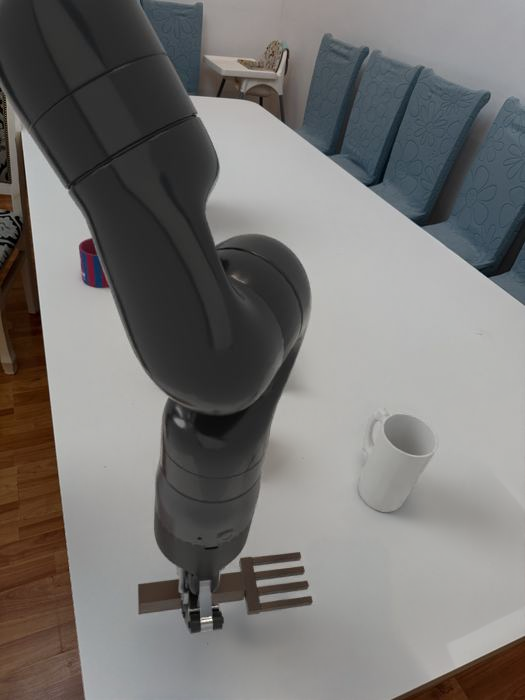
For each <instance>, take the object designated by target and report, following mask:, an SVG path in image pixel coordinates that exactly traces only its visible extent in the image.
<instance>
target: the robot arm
mask: <svg viewBox="0 0 525 700" xmlns="http://www.w3.org/2000/svg"><path fill="white" fill-rule="evenodd" d="M0 89H1V91H2V93H3V94H4V96H5V98H6V99H7V101H8V103H9V104H10V106H11V108H12V110H13V111H14V113H15V114H16V116H17V117H18V119H19V121H20V122H21V124H22V125H23V127H24V128H25V130H26V132H27V133H28V134H29V136H30V137H31V138H32V140H33V142H34V144H35V145H36V147H37V148H38V149H39V151H40V152H41V154H42V156H43V157H44V158H45V160H46V162H47V163H48V165H49V166H50V168H51V169H52V171H53V173H54V174H55V176H56V177H57V179H58V180H59V181H60V184H61V185H62V186H63V188H64V189H65V190H67V193H68V195H69V197H70V198H71V199H72V201H73V203H74V204H75V206H77V208H78V209H79V211H80V213H81V215H82V216H83V218H84V220H85V222H86V224H87V225H86V226H87V227H88V231H89V233H90V236H91V238H92V239H93V242H94V245H95V249H96V252H97V255H98V258H99V261H100V264H101V266H102V269H103V272H104V274H105V277H106V279H107V282H108V285H109V286H108V287H109V291H110V293H111V296H112V299H113V301H114V304H115V307H116V311H117V313H118V316H119V319H120V321H121V324H122V328H123V330H124V332H125V333H124V334H125V336H126V337H127V340H128V342H129V345H130V347H131V350H132V352H133V353H134V355H135V357H136V359H137V361H138V363H139V364H140V367H141V368H142V370H143V371H144V372H145V374H146V375H147V376H148V378H149V379H150V380H151V382H152V383H153V384H154V385H155V386H156V387H157V388H158V389H159V390H160V391H161V392H162V393H163V394H165V395H166V396H167V399H166V400H165V403H164V406H163V409H162V413H161V422H160V439H159V440H160V441H159V459H158V463H157V467H156V471H155V477H154V478H155V479H154V480H155V481H154V506H153V507H154V511H153V512H154V514H153V534H154V539H155V543H156V545H157V548H158V549H159V551H160V552H161V553H162V555H163V556H164V557H165V559H167V560H168V561H169V562H170V563H171V564H173V565H175V567H176V576H177V579H178V590H179V592H180V593H181V600H182V602H181V609H180V611H181V615H182V619H183V620H184V623H185V626H186V628H187V630H188V632H189V634H190V635H192V634H199V633H206V632H212V631H218V630H219V631H220V630H223V627H224V624H225V619H224V615H223V614H222V611H221V610H220V603H219V604H218V603H217V604H213V603H212V602H211V596H212V593H213V592H215V591H216V590H217V588H218V586H219V581H220V575H221V574H222V572H223V571H224V570H225V569H226V567H227V566H228V565H230V564H231V563H232V562H233V561H234V560H236V558H237V557H238V556H240V554H241V553H242V551H243V550H244V548H245V546H246V543H247V541H248V538H249V534H250V530H251V526H252V522H253V518H254V514H255V510H256V506H257V503H258V500H259V496H260V491H261V485H262V470H263V467H264V462H265V458H266V455H267V450H268V446H269V442H270V436H271V430H272V424H273V420H274V417H275V414H276V410H277V408H278V404H279V402H280V400H281V397H282V395H283V393H284V391H285V389H286V387H287V383H288V382H289V378H290V376H291V374H292V371H293V368H294V366H295V364H296V360H297V358H298V356H299V353H300V350H301V348H302V346H303V345H302V344H303V342H304V340H305V336H306V334H307V331H308V330H307V329H308V328H309V327H308V326H309V323H310V318H311V313H312V304H313V303H312V302H313V301H312V299H313V298H312V288H311V283H310V280H309V277H308V273H307V270H306V269H305V266H304V265H303V263H302V262H301V260H300V259H299V258H298V256H297V255H296V253H294V251H293V250H292V249H291V248H289V247H288V246H287V245H286V244H285V243H284V242H281V241H280V240H278V239H277V238H274V237H271V236H270V235H269V236H268V235H265V234H261V233H259V234H258V233H243V234H237V235H234V236H231V237H229V238H226V239H224V240H222V241H220V242H218V243H217V244H216V243H215V240H214V237H213V234H212V231H211V228H210V225H209V220H208V217H207V204H208V202H209V199H210V197H211V195H212V193H213V192H214V190H215V189H216V186H217V184H218V181H219V178H220V173H221V172H220V171H221V165H220V160H219V156H218V153H217V150H216V148H215V146H214V143H213V141H212V139H211V136H210V134H209V132H208V130H207V128H206V126H205V125H204V122H203V120H202V118H201V117H200V116H198V114H199V113H198V110H197V109H196V107H195V105H194V103H193V101H192V99H191V97H190V95H189V93H188V92H187V90H186V88H185V86H184V84H183V82H182V80H181V78H180V77H179V74H178V72H177V70H176V69H175V67H174V65H173V63H172V61H171V59H170V58H169V56H168V53H167V51H166V50H165V48H164V45H163V44H162V42H161V40H160V38H159V36H158V34H157V33H156V31H155V29H154V27H153V26H152V23H151V21H150V20H149V18H148V16H147V14H146V12H145V11H144V9H143V6H142V4H141V2H140V1H139V0H0Z"/></svg>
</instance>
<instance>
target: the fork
mask: <svg viewBox="0 0 525 700" xmlns="http://www.w3.org/2000/svg"><path fill="white" fill-rule="evenodd" d="M301 559H302V554H301V552H300V551H297V552H287V553H279V554H270V555H261V556H244V557H240V558H239V561H238V565H239V571H233V572H225V573H224V572H223V573H221V575H220V581H219V586H218V588H217V590H216V591H215V592H213V593H212V596H211V602H212V603H213V604H217V603H218V604H219V605H220V604H227V603H233V602H239V601H244V602H245V608H246V613H247V616H252V615H259V614H260V613H266V612H272V611H279V610H280V611H281V610H287V609H294V608H301V607H308V606H312V604H313V602H314V601H313V600H314V599H313V597H312V595H308V596H301V597H293V598H287V599H279V600H272V601H271V600H270V601H265V602H261V601H260V597H264V596H270V595H277V594H285V593H292V592H299V591H307V590H308V589H309V587H310V584H309V581H308V580H300V581H294V582H286V583H285V582H284V583H279V584H270V585H262V586H258V584H257V582H258V581H264V580H273V579H283V578H290V577H295V576H304V574H305V572H306V570H305V569H306V568H305V566H304V565H301V566H300V565H299V566H292V567H285V568H276V569H268V570H259V571H255V567H258V566H266V565H267V566H268V565H275V564H276V565H277V564H283V563H284V564H285V563H291V562H298V561H301ZM137 591H138V592H137V606H138V608H137V613H138V615H144V614H153V613H159V612H168V611H174V610H181V602H182V600H181V593H180V592H179V590H178V578H176V579H167V580H160V581H152V582H143V583H138V585H137Z"/></svg>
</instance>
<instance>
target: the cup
mask: <svg viewBox="0 0 525 700" xmlns="http://www.w3.org/2000/svg"><path fill="white" fill-rule="evenodd" d="M78 251H79V261H80V263H79V264H80V272H81V280H82V281H83V283H84V284H86V285H88V286H90V287H93V288H108V287H109V285H108V282H107V279H106V277H105V274H104V272H103V269H102V266H101V264H100V261H99V258H98V255H97V252H96V249H95V245H94V242H93V239H92V237H90V238H87V239H84V240H82V241H81V242H80V243H79V245H78Z"/></svg>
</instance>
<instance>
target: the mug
mask: <svg viewBox="0 0 525 700" xmlns="http://www.w3.org/2000/svg"><path fill="white" fill-rule="evenodd" d="M377 422H379V423H381V426H380V428H379V430H378V433H377V435H376V438H375V440H374V437H373V434H374V428H375V426H376V423H377ZM438 439H439V438H438V436H437V433H436V432H435V430H434V428H432V427H431V425H429V423H427V422H426V421H425V420H424V419H422V418H421V417H418V416H416V415H415V414H410V413H406V412H395V413H392V414H390V413H389V411H388V410H387V409H386V407H385V406H381V407H379V408H378V409H377V410H376V411H374V412H373V413H372V414H371V415H370V416H369V418H368V419H367V421H366V424H365V427H364V434H363V442H362V451H363V452H364V454H365V455H366V457H367V459H366V462H365V465H364V467H363V469H362V472H361V474H360V477H359V480H358V483H357V490H358V494H359V497H360V498H361V500H362V501H363V502H364V503H365V504H366V505H367V506H369V508H372V509H373V510H376V511H378V512H381V513H392V512H395V511H397V510H399V509H400V508H401V507H402V506H403V504H404V503H405V501H406V500H407V498H408V497H409V495H410V493H411V491H412V490H413V488H414V486H415V485H416V483H417V482H418V480H419V478H421V476H422V473H423V472H424V471H425V469H426V467H427V466H428V465H429V462H430V461H431V459H432V458H433V456H434V454H435V452H436V451H437V450H438V447H439V440H438Z"/></svg>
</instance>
